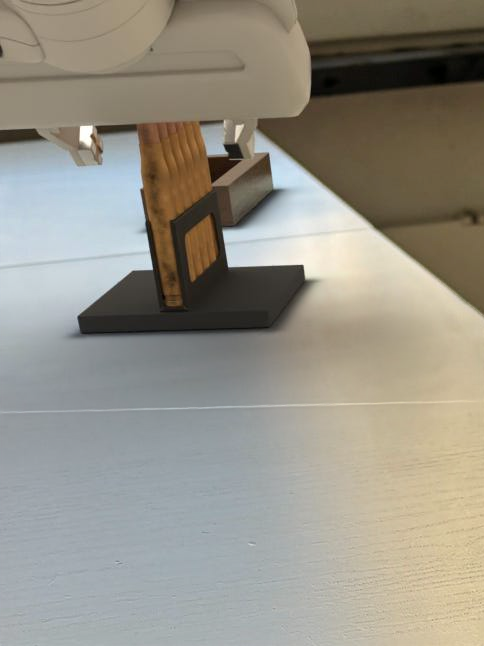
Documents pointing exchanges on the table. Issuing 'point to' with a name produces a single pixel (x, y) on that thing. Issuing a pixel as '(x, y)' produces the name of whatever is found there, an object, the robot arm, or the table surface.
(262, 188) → the bullet clip holder
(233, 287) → the rubber mat
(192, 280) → the stripper clip of bullets
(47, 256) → the table surface
